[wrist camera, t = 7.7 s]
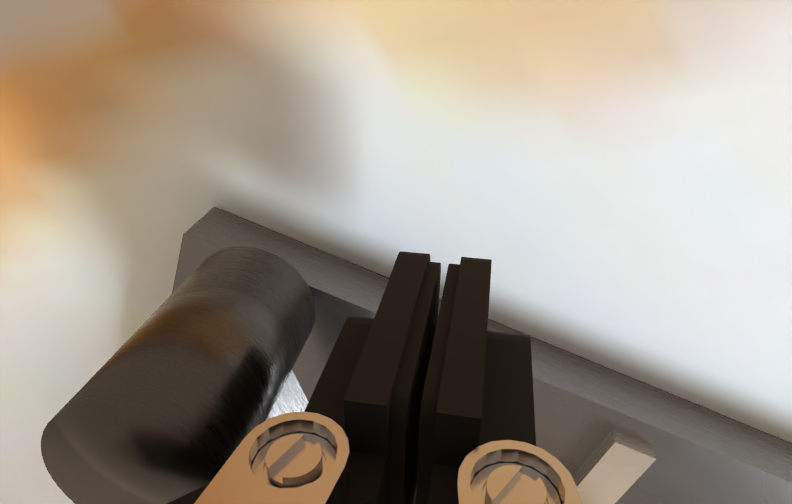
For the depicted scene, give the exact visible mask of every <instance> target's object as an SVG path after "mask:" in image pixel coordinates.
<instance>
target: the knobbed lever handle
mask: <svg viewBox="0 0 792 504" xmlns="http://www.w3.org/2000/svg"><path fill="white" fill-rule="evenodd" d="M315 319H316V306H315V301H314V297H313V295H312V292H311V290H310V288H309V286H308V284H307V282H306V281H305V280H304V278H303V277H302V276H301V274H300V273H299V272H298V271H297V270H296V269H295V268H294V267H293V266H291V265H290V264H289V263H288V262H286V261H285V260H284V259H282V258H280V257H278V256H277V255H275V254H273V253H270V252H268V251H265V250H262V249H259V248H254V247H247V246H234V247H229V248H225V249H222V250H219V251H217V252H215V253H213V254H212V255H210V256H209V257H208V258H207V259H206V260H205V261H204V262H203V263H202V264H201V265H200V266H199V267H198V268H197V269H196V270H195V271H194V272H193V273H192V274H191V275H190V276H189V277H188V278H187V279H186V280H185V281H184V283H183V284H182V285H181V286H180V287H179V288H178V289H177V290H176V291H175V292H174V293H173V294H172V295H171V296H170V297H169V298H168V299H167V300H166V301H165V302H164V303H163V304H162V305H161V306H160V307H159V309H158V310H157V311H156V312H155V313H154V314H153V315H152V316H151V317H150V318H149V319H148V320H147V321H146V322H145V323H144V324H143V325H142V326H141V327H140V328H139V329H138V330H137V331H136V332H135V334H134V335H133V336H132V337H131V338H130V339H129V340H128V341H127V342H126V343H125V344H124V345H123V346H122V347H121V348H120V349H119V350H118V351H117V352H116V353H115V354H114V355H113V356H112V357H111V358H110V360H109V361H108V362H107V363H106V364H105V365H104V366H103V367H102V368H101V369H100V370H99V371H98V372H97V373H96V374H95V375H94V376H93V377H92V378H91V379H90V380H89V381H88V382H87V383H86V384H85V386H84V387H83V388H82V389H81V390H80V391H79V392H78V393H77V394H76V395H75V396H74V397H73V398H72V399H71V400H70V401H69V402H68V403H67V404H66V405H65V406H64V407H63V408H62V409H61V410H60V412H59V413H58V414H57V415H56V416H55V417H54V418H53V419H52V420H51V421H50V422H49V423H48V424H47V426H46V428H45V429H44V431H43V435H42V439H41V451H42V456H43V460H44V463H45V465H46V467H47V470H48V472H49V473H50V475H51V477H52V478H53V480H54V481H55V482H56V484H57V485H58V487H59V488H60V489H61V490H62V491H63V492H64V493H65V494H66V495H67V496H68V497H69V498H70V499H71V500H72V501H73V502H74V503H75V504H167V503H169V502H171V501H173V500H175V499H178V498H180V497H182V496H184V495H186V494H188V493H190V492H192V491H194V490H197V489H199V488H201V487H203V486H205V485H207V484H209V483H210V482H211V481H212V480H213V478H214V477H215V476H216V474H217V473H218V472H219V470H220V469H221V468H222V467H223V465H224V464H225V463H226V461H227V460H228V459H229V457H230V456H231V455H232V453H233V452H234V451H235V450H236V448H237V447H238V446H239V444H240V443H241V442H242V440H243V439H244V438H245V437H246V436H247V435H248V434H249V433H250V432H251V431H252V430H253V429H254V428H255V427H256V426H258V425H259V424H261V423H263V422H264V421H266V420H268V419H269V418H272V417H275V416H278V415H281V414H284V413H290V412H301V411H305V409H306V407H307V404H308V400H307V398H306V396H305V394H304V392H303V390H302V388H301V386H300V384H299V382H298V380H297V378H296V376H295V374H294V372H293V370H292V369H293V367H294V365H295V363H296V361H297V359H298V357H299V355H300V353H301V351H302V349H303V347H304V345H305V343H306V341H307V339H308V337H309V335H310V333H311V331H312V329H313V326H314V323H315Z"/></svg>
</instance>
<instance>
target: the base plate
mask: <svg viewBox="0 0 792 504" xmlns="http://www.w3.org/2000/svg"><path fill="white" fill-rule="evenodd" d="M234 246H247V247H254V248H259V249H262V250H265V251H268V252H270V253H273V254H275V255H277V256H278V257H280V258H282V259H284V260H285V261H286V262H288V263H289V264H290V265H291V266H293V267H294V268H295V269H296V270H297V271H298V272H299V273H300V274H301V276H302V277H303V278H304V280H305V281H306V282H307V284H308V286H309V288H310V290H311V292H312V295H313V297H314V301H315V306H316V319H315V323H314V326H313V329H312V331H311V333H310V335H309V337H308V339H307V341H306V343H305V345H304V347H303V349H302V351H301V353H300V355H299V357H298V359H297V361H296V363H295V365H294V367H293V369H292V370H293V372H294V374H295V376H296V378H297V380H298V382H299V384H300V386H301V388H302V390H303V392H304V394H305V396H306V398H307V400H308V402H309V400H310V398H311V396H312V393H313V391H314V389H315V387H316V385H317V382H318V380H319V378H320V376H321V374H322V371H323V369H324V367H325V365H326V363H327V360H328V358H329V356H330V354H331V352H332V349H333V347H334V345H335V343H336V341H337V338H338V336H339V334H340V332H341V330H342V327H343V325H344V323H345V321H346V319H347V318H348V317H349V316H357V317H366V318H375V315H376V313H377V310H378V307H379V305H380V302H381V299H382V297H383V294H384V291H385V289H386V286H387V283H388V281H389V278H386V277H384V276H382V275H379V274H377V273H374V272H372V271H369V270H367V269H365V268H362V267H360V266H357V265H355V264H352V263H350V262H347V261H345V260H343V259H340V258H338V257H335V256H333V255H330V254H328V253H326V252H323V251H321V250H318V249H316V248H313V247H311V246H308V245H306V244H304V243H301V242H299V241H296V240H294V239H291V238H289V237H287V236H284V235H282V234H279V233H277V232H274V231H272V230H269V229H267V228H265V227H262V226H260V225H257V224H255V223H252V222H250V221H248V220H245V219H243V218H240V217H238V216H235V215H233V214H230V213H228V212H226V211H223V210H221V209H218V208H216V207H214V208H212V209H211V210H210V211H209V212H208V213H207V214H206V215H205V216H203V217H202V218H201V219H200V220H199V221H198V222H197V223H196V224H195V225H193V226H192V227H191V228H190V229H189V230H188V231H187V232H186V233H184V234H183V239H182V244H181V250H180V255H179V260H178V265H177V271H176V276H175V281H174V287H173V292H172V294H173V293H174V292H175V291H176V290H177V289H178V288H179V287H180V286H181V285H182V284H183V283H184V281H185V280H186V279H187V278H188V277H189V276H190V275H191V274H192V273H193V272H194V271H195V270H196V269H197V268H198V267H199V266H200V265H201V264H202V263H203V262H204V261H205V260H206V259H207V258H208V257H209V256H210V255H212V254H213V253H215V252H217V251H219V250H222V249H225V248H229V247H234ZM441 301H442V300H440V299H439V310H440V306H441ZM438 315H439V311H438ZM487 331H494V332H503V333H512V334H521V335H525V334H523V333H520V332H518V331H516V330H513V329H511V328H508V327H506V326H503V325H501V324H499V323H496V322H494V321H491V320H489V319H488V324H487ZM530 340H531V355H532V374H533V393H534V413H535V432H536V446H537V447H539V448H542V449H544V450H545V451H547V452H548V453H550V454H551V455H553V456H554V457H556V458H557V459H558V460H559V461H560V462H561V463H562V464H563V465H564V466H565V467H566V469H567V470H568V471H569V472H570V474H571V476H572V478H573V480H574V482H575V484H576V486H577V489H578V492H579V495H580V499H581V502H582V504H792V444H791V443H789V442H786V441H784V440H781V439H779V438H776V437H774V436H771V435H769V434H767V433H764V432H762V431H759V430H757V429H754V428H752V427H750V426H747V425H745V424H742V423H740V422H737V421H735V420H732V419H730V418H728V417H725V416H723V415H720V414H718V413H715V412H713V411H711V410H708V409H706V408H703V407H701V406H698V405H696V404H693V403H691V402H689V401H686V400H684V399H681V398H679V397H676V396H674V395H672V394H669V393H667V392H664V391H662V390H659V389H657V388H655V387H652V386H650V385H647V384H645V383H642V382H640V381H637V380H635V379H633V378H630V377H628V376H625V375H623V374H620V373H618V372H616V371H613V370H611V369H608V368H606V367H603V366H601V365H598V364H596V363H594V362H591V361H589V360H586V359H584V358H581V357H579V356H577V355H574V354H572V353H569V352H567V351H564V350H562V349H559V348H557V347H555V346H552V345H550V344H547V343H545V342H542V341H540V340H538V339H535V338H533V337H530ZM414 504H416V496H415V502H414Z"/></svg>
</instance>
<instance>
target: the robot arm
mask: <svg viewBox="0 0 792 504" xmlns="http://www.w3.org/2000/svg"><path fill="white" fill-rule="evenodd" d="M440 272H441V264H440V263H435V262H430V254H422V253H411V252H399V254H398V257H397V260H396V262H395V265H394V268H393V270H392V273H391V275H390V278H389V281H388V283H387V286H386V289H385V291H384V294H383V297H382V299H381V302H380V305H379V307H378V310H377V313H376V315H375V318H366V317H357V316H349V317H348V318H347V319H346V321H345V323H344V325H343V327H342V330H341V332H340V334H339V336H338V338H337V341H336V343H335V345H334V347H333V349H332V352H331V354H330V356H329V358H328V360H327V363H326V365H325V367H324V369H323V371H322V374H321V376H320V378H319V380H318V382H317V385H316V387H315V389H314V391H313V393H312V396H311V398H310V400H309V402H308V404H307V407H306V409H305V411H301V412H290V413H284V414H281V415H278V416H275V417H272V418H269V419H268V420H266V421H264V422H263V423H261V424H259V425H258V426H256V427H255V428H254V429H253V430H252V431H251V432H250V433H249V434H248V435H247V436H246V437H245V438H244V439H243V440H242V442H241V443H240V444H239V446H238V447H237V448H236V450H235V451H234V452H233V453H232V455H231V456H230V457H229V459H228V460H227V461H226V463H225V464H224V465H223V467H222V468H221V469H220V470H219V472H218V473H217V474H216V476H215V477H214V478H213V480H212V481H211V482H210V483H209V484H207V485H205V486H203V487H201V488H199V489H197V490H194V491H192V492H190V493H188V494H186V495H184V496H182V497H180V498H178V499H175V500H173V501H171V502H169V503H167V504H414V502H415V496H416V504H582V502H581V499H580V495H579V492H578V489H577V486H576V484H575V482H574V480H573V478H572V476H571V474H570V472H569V471H568V470H567V469H566V467H565V466H564V465H563V464H562V463H561V462H560V461H559V460H558V459H557V458H556V457H554V456H553V455H551V454H550V453H548V452H547V451H545V450H544V449H542V448H539V447H537V446H536V432H535V413H534V393H533V374H532V355H531V340H530V336H529V335H521V334H512V333H503V332H494V331H487V324H488V308H489V292H490V277H491V260H489V259H478V258H466V257H461V263H460V265H457V264H449V266H448V271H447V276H446V281H445V286H444V291H443V296H442V301H441V306H440V310H439V292H440ZM438 311H439V315H438Z"/></svg>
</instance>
